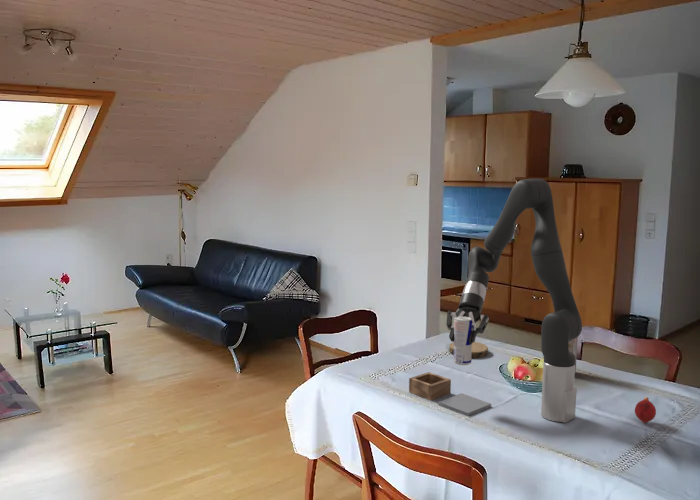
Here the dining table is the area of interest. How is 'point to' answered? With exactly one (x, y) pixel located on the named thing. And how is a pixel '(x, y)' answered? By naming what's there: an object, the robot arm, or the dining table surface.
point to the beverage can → (462, 340)
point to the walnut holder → (429, 386)
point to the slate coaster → (464, 404)
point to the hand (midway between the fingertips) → (461, 341)
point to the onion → (645, 410)
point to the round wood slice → (473, 350)
